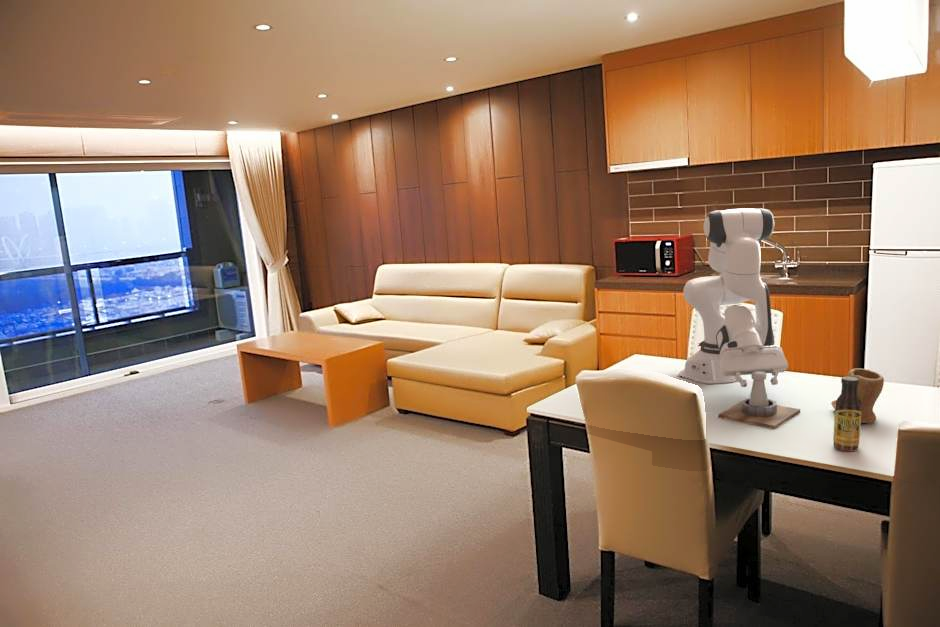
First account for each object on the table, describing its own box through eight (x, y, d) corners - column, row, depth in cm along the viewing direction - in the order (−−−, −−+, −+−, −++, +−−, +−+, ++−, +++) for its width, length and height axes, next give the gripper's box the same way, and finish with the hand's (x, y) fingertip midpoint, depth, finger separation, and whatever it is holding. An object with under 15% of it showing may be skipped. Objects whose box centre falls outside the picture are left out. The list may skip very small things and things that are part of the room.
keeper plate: (718, 417, 216) (718, 414, 215) (745, 402, 227) (745, 399, 227) (774, 428, 202) (774, 425, 202) (800, 412, 214) (800, 409, 214)
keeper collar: (736, 413, 215) (736, 404, 214) (751, 404, 221) (751, 395, 221) (767, 419, 208) (767, 409, 207) (782, 410, 214) (782, 401, 214)
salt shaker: (745, 408, 218) (745, 370, 215) (763, 407, 218) (764, 368, 215) (753, 414, 212) (753, 375, 210) (771, 413, 212) (772, 373, 210)
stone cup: (887, 426, 197) (889, 376, 194) (842, 425, 200) (843, 377, 198) (872, 409, 211) (873, 362, 209) (830, 408, 215) (831, 363, 212)
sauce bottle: (834, 451, 183) (835, 381, 179) (831, 443, 189) (832, 374, 185) (862, 453, 181) (864, 381, 177) (858, 444, 186) (859, 375, 183)
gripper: (777, 350, 222) (790, 387, 214) (714, 354, 223) (724, 391, 215) (783, 340, 217) (796, 377, 209) (718, 344, 218) (729, 382, 210)
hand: (759, 384), depth 212 cm, fingers open, 8 cm apart
